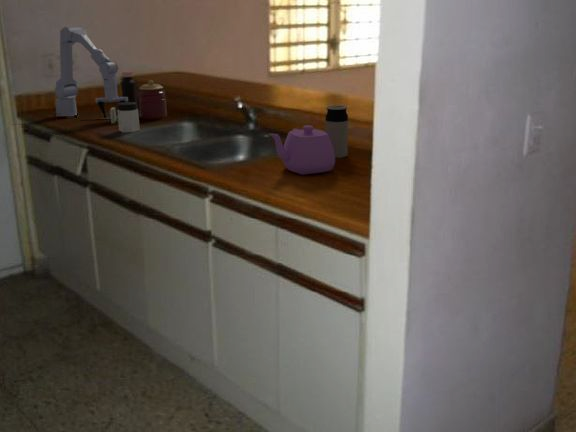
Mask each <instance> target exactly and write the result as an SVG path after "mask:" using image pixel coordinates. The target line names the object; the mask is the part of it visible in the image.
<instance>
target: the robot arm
mask: <svg viewBox="0 0 576 432" xmlns="http://www.w3.org/2000/svg"><path fill="white" fill-rule="evenodd" d="M59 34H60V35H59V36H60V38H59V49H60V50H59V54H60V57H59V58H60V59H59V61H60V62H59V63H60V78H59V79H58V80H56V82H55V85H56V86H55V87H54V88H55V89H54V93H55V96H56V97H57V98H56V99H55V101H54V105H55V112H56V113H55V114H56V117H57V116H74V115H77V113H78V110H77V100H76V98H77V95H78V94H79V88H78V85H77V81H76V80H75V79H74V75H73V74H74V73H73V71H74V70H73V68H74V67H73V45H75V44H76V43H80V44H81V45H82V46H83V48H85V49H86V50H87V51H88V52H89V53H90V58H91V59H92V60H93V62H94V63H95V64H96V66H98V67H99V68H98V70H99V72H100V74H101V77H102V79H103V89H104V90H103V91H104V97H95V99H94V100H95V104H97V105H98V107H99V108H100V111H101V114H103V115H104V118H106V114H107V113H106V105H105V104H106V103H117V102H118V103H121V102H128V97H122V96H119V93H118V84H117V74H116V73H118V71H119V67H118V64H117V63H116V61H115V60H112V59H110V58H109V57H108V56H107V55H106V54H105V53H104V51H103V50H102V49H101V48H97V47H96V46H95V44H94V43H93V42H92V41H91V39H90V38H89V36H88V34H87V30H85V28H84V27H83V26H81V25H78V26H64V27H63V28H61V29H60V33H59Z"/></svg>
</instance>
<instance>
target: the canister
mask: <svg viewBox="0 0 576 432" xmlns="http://www.w3.org/2000/svg"><path fill="white" fill-rule="evenodd" d="M138 90H139V91H138V92H137V94H138V96H139V98H138V100H137V101H138V105H139V107H138V108H139V116H140V117H139V118H141V119H143V120H159V119H163V118H166V117H167V116H168V111H167V97H166V95H165V94H166V90H164V86H162V85H161V84H160V83H155V82H154V81H153V80H152V79H150V80H148V82H147V83H146V84H142V85H141V86H140V87H139V89H138Z"/></svg>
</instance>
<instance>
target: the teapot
mask: <svg viewBox="0 0 576 432" xmlns="http://www.w3.org/2000/svg"><path fill="white" fill-rule="evenodd" d="M268 135H269V136H270V137H272V139H273V140H274V143H275V149H276V154H277V156H278V157H279V158H280V159H281V160H282V163H283V164H284V167H285V168H286V169H287V170H289V172H290V171H291V172H292V173H296V174H299V175H301V176H307V175H309V174H311V175H312V174H318V173H319V174H320V173H327V172H331V171H332V170H333V168H334V166H335V164H336V158H335V154H334V149H333V146H332V143H331V141H330V138H329V136H328V134H327V133H326V131H324V130H321V129H318V128H317V129H316V128H314V125H309V124H308V125H303V126H302V129H298V128H293V129H292V130H290V131H289V132H288V134H287V136H286V139H285V142H284V144H283V142H282V139H281V136H280V135H279V134H277V133H268Z"/></svg>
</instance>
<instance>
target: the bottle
mask: <svg viewBox="0 0 576 432" xmlns="http://www.w3.org/2000/svg"><path fill="white" fill-rule="evenodd" d="M121 75H122V81H121V82H120V87H121V97H128V102H136V103H137V104H138V102H137V101H138V100H137V90H136V82H135V81H134V80H133V71H122V72H121Z"/></svg>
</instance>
